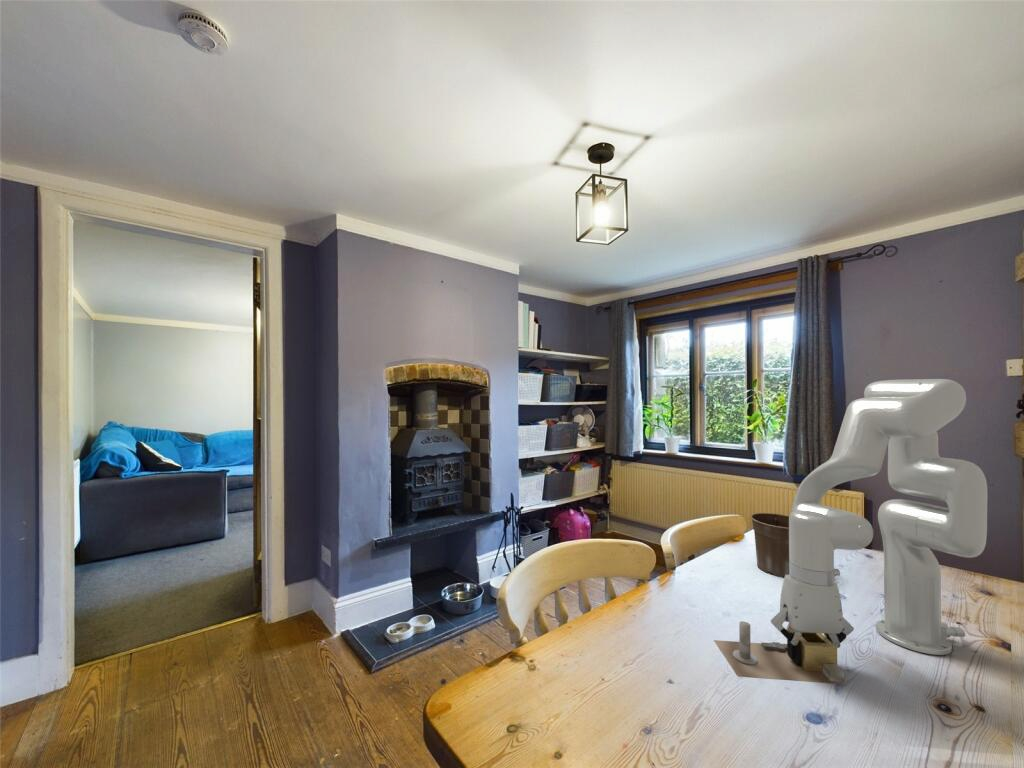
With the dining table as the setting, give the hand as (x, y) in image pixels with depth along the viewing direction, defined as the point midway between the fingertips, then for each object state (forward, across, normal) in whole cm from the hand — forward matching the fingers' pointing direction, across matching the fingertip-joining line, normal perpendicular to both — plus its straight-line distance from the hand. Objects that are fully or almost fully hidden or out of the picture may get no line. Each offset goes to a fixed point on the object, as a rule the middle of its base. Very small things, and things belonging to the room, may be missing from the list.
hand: (811, 661), depth 86 cm
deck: (+1, +7, 0) cm, 7 cm away
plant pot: (+2, -20, -51) cm, 55 cm away
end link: (0, 0, 0) cm, 0 cm away
